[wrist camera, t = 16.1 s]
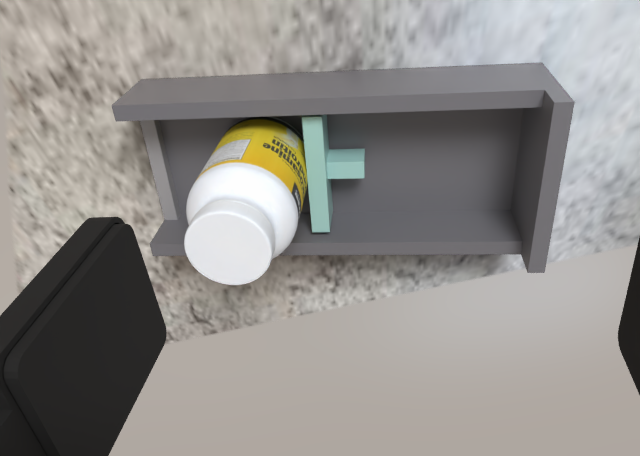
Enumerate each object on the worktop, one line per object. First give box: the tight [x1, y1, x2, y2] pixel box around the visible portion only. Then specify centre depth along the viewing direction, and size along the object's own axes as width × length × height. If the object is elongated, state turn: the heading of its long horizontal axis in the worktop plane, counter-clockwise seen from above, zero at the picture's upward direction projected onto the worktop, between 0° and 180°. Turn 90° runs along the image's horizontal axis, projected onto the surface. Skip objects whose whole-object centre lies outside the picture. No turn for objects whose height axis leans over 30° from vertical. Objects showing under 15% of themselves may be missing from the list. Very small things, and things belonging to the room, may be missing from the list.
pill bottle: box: [184, 116, 308, 285], centre depth 34 cm, size 6×6×12 cm
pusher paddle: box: [302, 114, 365, 232], centre depth 37 cm, size 4×8×3 cm, turn 4°
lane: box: [112, 63, 574, 273], centre depth 37 cm, size 26×11×7 cm, turn 94°
